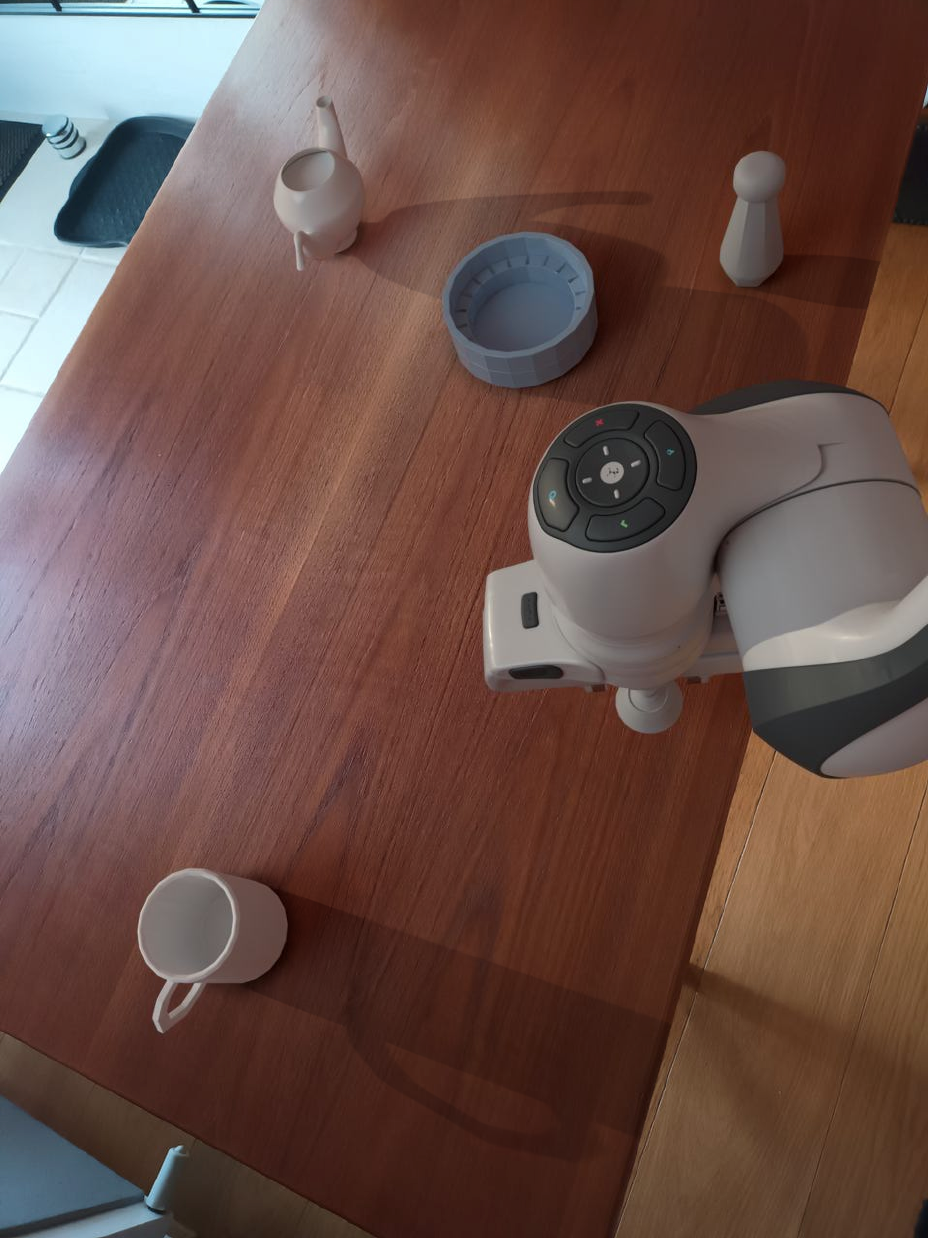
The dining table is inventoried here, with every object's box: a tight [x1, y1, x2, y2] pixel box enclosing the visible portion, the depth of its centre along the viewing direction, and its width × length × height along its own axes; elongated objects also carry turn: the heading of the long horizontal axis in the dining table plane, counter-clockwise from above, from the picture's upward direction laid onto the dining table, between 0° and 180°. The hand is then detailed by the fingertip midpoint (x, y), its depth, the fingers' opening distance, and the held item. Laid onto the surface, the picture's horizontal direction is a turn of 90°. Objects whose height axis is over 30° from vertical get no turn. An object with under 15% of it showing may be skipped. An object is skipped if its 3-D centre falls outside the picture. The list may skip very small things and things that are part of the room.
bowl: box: [441, 230, 599, 389], centre depth 92 cm, size 14×14×6 cm
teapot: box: [272, 95, 366, 272], centre depth 100 cm, size 10×20×9 cm, turn 173°
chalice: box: [615, 677, 684, 734], centre depth 65 cm, size 7×7×18 cm
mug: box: [137, 867, 289, 1034], centre depth 74 cm, size 8×12×10 cm, turn 159°
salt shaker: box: [719, 150, 787, 288], centre depth 86 cm, size 6×6×13 cm
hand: (645, 677), depth 67 cm, fingers closed on chalice, 5 cm apart
